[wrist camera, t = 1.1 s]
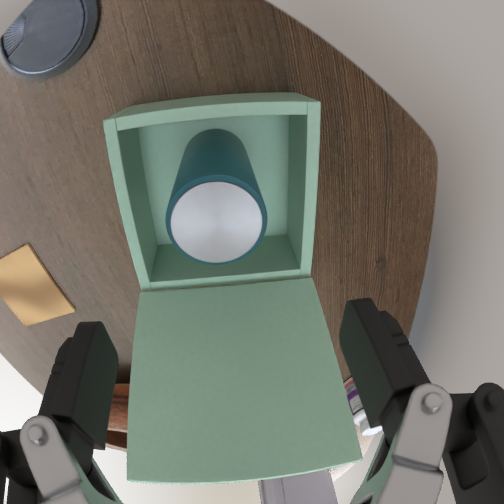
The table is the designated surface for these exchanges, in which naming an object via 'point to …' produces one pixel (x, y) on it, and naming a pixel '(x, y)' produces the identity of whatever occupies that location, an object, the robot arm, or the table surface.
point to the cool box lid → (235, 386)
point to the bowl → (118, 417)
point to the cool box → (263, 164)
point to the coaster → (31, 288)
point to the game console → (299, 489)
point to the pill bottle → (358, 409)
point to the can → (216, 201)
